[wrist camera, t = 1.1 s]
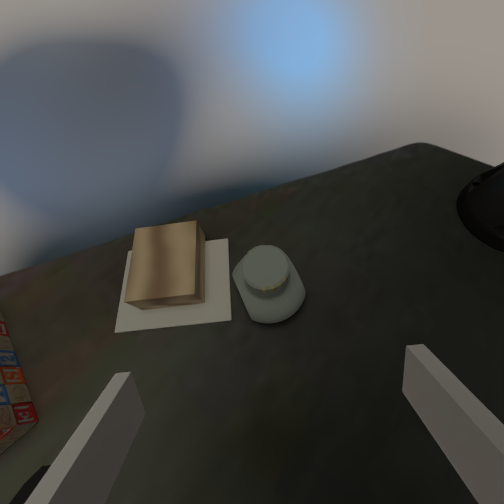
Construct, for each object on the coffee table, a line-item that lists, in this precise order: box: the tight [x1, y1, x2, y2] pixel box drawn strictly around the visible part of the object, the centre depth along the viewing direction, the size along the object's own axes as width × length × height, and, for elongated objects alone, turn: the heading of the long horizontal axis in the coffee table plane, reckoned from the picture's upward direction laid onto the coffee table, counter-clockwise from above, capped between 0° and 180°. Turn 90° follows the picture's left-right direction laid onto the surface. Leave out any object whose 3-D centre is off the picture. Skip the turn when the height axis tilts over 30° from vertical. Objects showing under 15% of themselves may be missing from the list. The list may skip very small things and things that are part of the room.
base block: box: [124, 221, 205, 310], centre depth 38 cm, size 10×12×5 cm
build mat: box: [115, 239, 232, 333], centre depth 39 cm, size 18×14×1 cm
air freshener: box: [232, 245, 306, 324], centre depth 33 cm, size 11×8×10 cm
